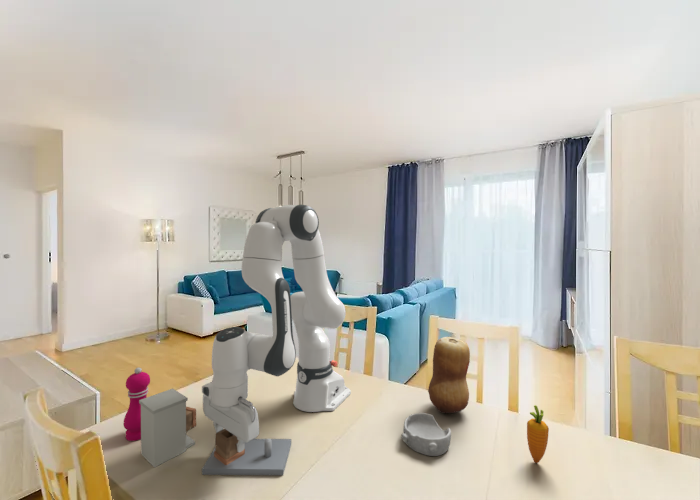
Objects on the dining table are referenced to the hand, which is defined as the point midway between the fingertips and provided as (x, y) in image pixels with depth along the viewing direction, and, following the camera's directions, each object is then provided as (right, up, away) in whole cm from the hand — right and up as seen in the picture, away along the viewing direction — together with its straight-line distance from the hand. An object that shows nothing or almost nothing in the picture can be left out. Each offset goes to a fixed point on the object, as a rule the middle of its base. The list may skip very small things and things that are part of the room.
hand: (229, 443), depth 84 cm
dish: (+54, -6, +10) cm, 55 cm away
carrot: (+81, -6, +2) cm, 82 cm away
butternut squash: (+65, -5, +27) cm, 71 cm away
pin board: (+5, -5, +1) cm, 7 cm away
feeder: (-18, -4, +4) cm, 19 cm away
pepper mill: (-31, -4, +10) cm, 33 cm away
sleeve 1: (-20, -4, +13) cm, 24 cm away
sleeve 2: (0, -3, 0) cm, 3 cm away
